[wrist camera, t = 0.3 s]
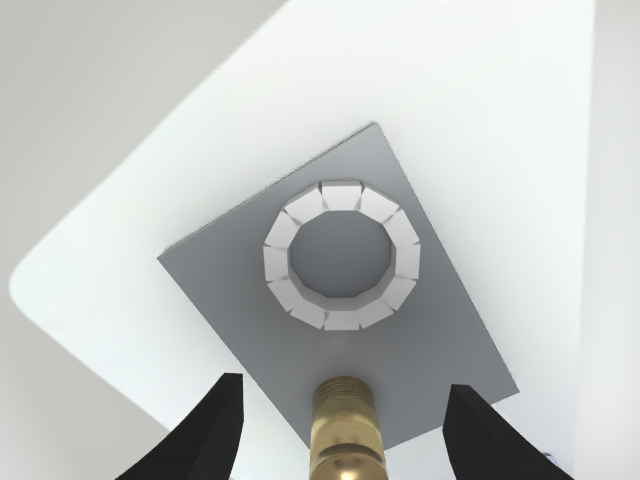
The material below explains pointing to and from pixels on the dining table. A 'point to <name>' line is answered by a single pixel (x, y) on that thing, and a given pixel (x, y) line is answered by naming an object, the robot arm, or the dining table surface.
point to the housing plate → (342, 293)
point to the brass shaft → (345, 432)
